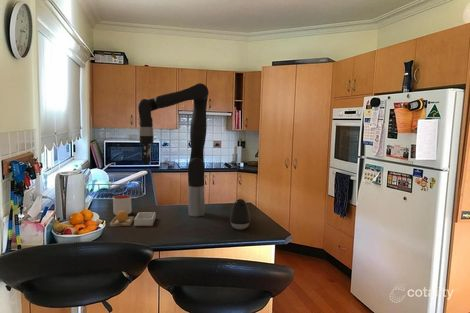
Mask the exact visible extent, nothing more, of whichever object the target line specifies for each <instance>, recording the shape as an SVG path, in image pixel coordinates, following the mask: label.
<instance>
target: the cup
mask: <svg viewBox="0 0 470 313" xmlns="http://www.w3.org/2000/svg"><path fill="white" fill-rule="evenodd" d="M112 202H113V203H112V205H113V207H112V208H113V210H112V211H113V215H115V216H116V215H117V213H118V212H119V211H125V212H127V214H128V215H130V214H131V213H132V211H133V210H132V195H127V194H123V195H122V194H120V195H115V196H113V198H112Z"/></svg>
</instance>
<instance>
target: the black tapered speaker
mask: <svg viewBox="0 0 470 313" xmlns="http://www.w3.org/2000/svg"><path fill="white" fill-rule="evenodd" d="M229 222H230V225H231V226H232V228H234V229H236V230H239V231H240V230H241V231H242V230H245V229H247V228H248V227H249V225H250V223H251V216H250V211H249V207H248V204H247V202H246V201H245V200H244V199H243V198H238V199H236V200H235V202H234V203H233V206H232V207H231V212H230V218H229Z"/></svg>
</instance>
